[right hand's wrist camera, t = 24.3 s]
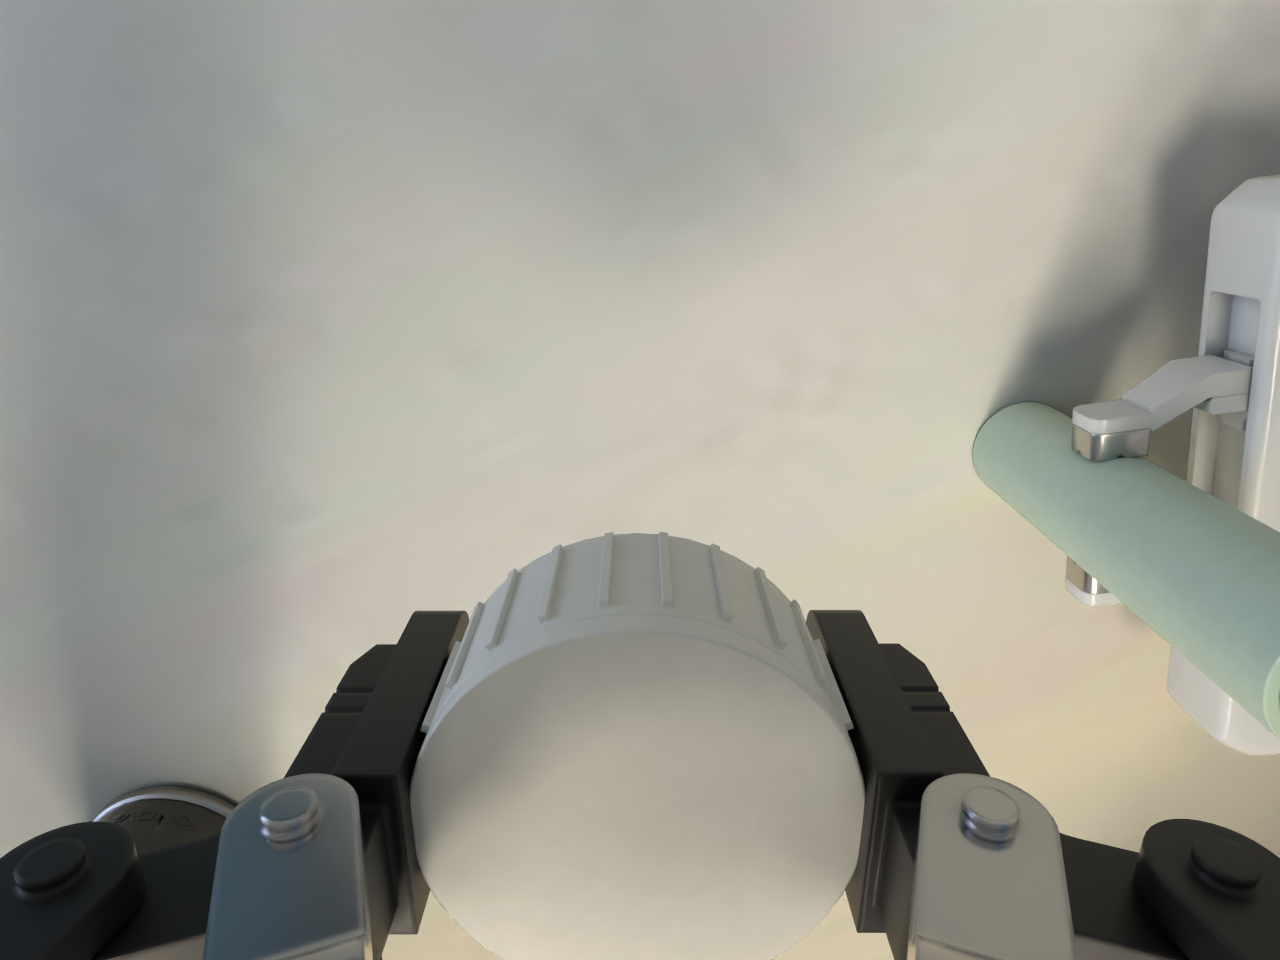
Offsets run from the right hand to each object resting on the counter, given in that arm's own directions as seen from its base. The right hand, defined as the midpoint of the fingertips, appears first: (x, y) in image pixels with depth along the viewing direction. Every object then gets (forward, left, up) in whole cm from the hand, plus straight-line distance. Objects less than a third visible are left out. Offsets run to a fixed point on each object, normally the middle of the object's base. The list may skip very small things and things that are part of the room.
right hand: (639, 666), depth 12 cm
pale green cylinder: (-3, -16, -22) cm, 27 cm away
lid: (0, 0, +3) cm, 3 cm away
